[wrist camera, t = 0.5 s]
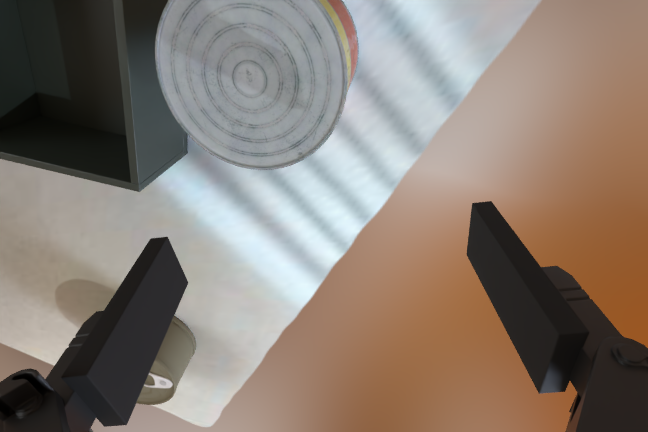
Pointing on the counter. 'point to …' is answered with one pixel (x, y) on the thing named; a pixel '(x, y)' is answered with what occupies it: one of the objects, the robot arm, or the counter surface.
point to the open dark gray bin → (86, 90)
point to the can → (168, 364)
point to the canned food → (256, 75)
